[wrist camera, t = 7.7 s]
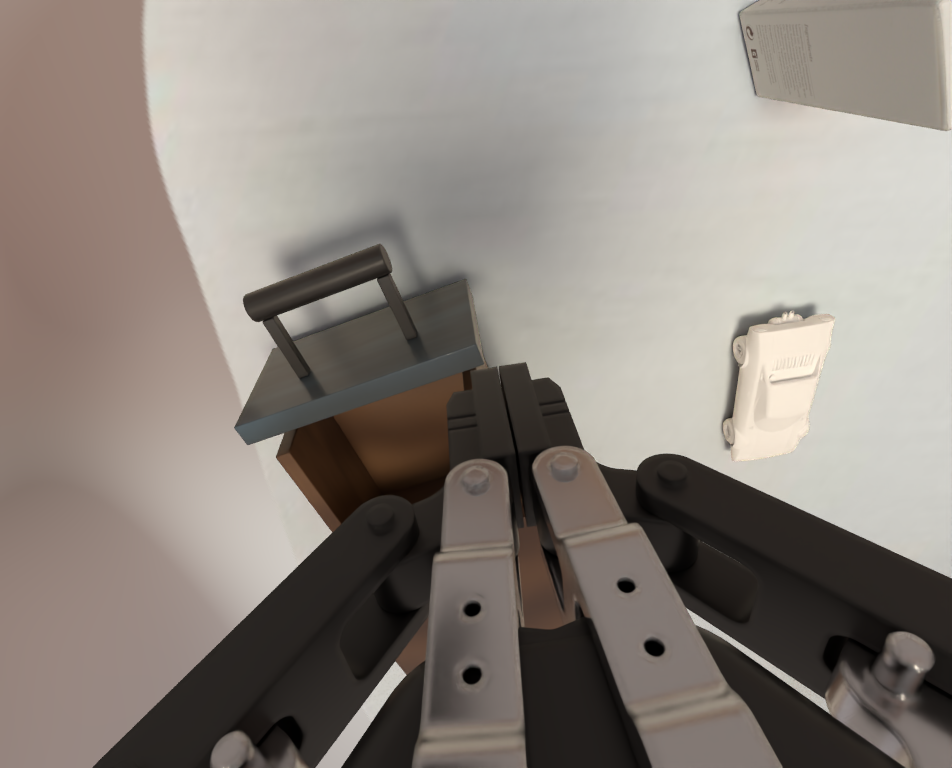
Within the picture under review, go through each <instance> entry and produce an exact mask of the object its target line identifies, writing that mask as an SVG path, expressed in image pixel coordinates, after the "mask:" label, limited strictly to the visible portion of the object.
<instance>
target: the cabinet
mask: <svg viewBox="0 0 952 768" xmlns="http://www.w3.org/2000/svg"><path fill="white" fill-rule="evenodd" d="M522 512H523V521H524V528H519V529H518V535H519V543H520V547H519V552H518V557H519V567H520V579H521V590H522V602H523V614H524V626H525V627H527V628H538V629H555V628H558V627H561V626H563V622H562V619H561V616H560V613H559V610H558V606H557V603H556V600H555V597H554V594H553V591H552V587H551V584H550V581H549V578H548V575H547V572H546V569H545V565H544V562H543V559H542V556H541V550H540V540H539V534H538V530H537V526H531V527H527V524H526V519H525V514H524V509H523V507H522ZM428 618H429V617H428ZM428 618H427V619H426V621H425V622H424V623H423V625H422V626H421V627H420V629H419V630H418V631H417V633H416V634H415V635H414V637H413V638H412V639H411V641H410V642H409V643H408V645H407V646H406V647H405V649H404V650H403V651H402V653H401V654H400V655H399V657H398V658H397V659H396V662H397V664H398V665H399V666H400V667H401V668H402V670H403V671H404V672H405V673H406V675H408V674H409V673H410V672H411V671H412V670H413V669H414V668H416V667H417V666H418V665H420V664H421V663H422V662H424V661H425V658H426V645H427V632H428Z"/></svg>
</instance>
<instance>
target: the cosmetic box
mask: <svg viewBox="0 0 952 768" xmlns="http://www.w3.org/2000/svg"><path fill="white" fill-rule="evenodd" d="M740 20H741V24H742V29H743V34H744V38H745V43H746V47H747V52H748V56H749V61H750V65H751V70H752V75H753V80H754V85H755V90H756V93H757V96H759V97H762V98H768V99H773V100H779V101H785V102H790V103H795V104H801V105H806V106H812V107H817V108H822V109H827V110H833V111H838V112H845V113H850V114H855V115H861V116H866V117H872V118H877V119H882V120H888V121H894V122H898V123H904V124H910V125H915V126H921V127H927V128H932V129H937V130H942V131H948V130H951V129H952V0H759V1H758V2H756V3H754V4H753V5H751V6H749V7H748V8H746V9H744V10H743V11H741V12H740Z"/></svg>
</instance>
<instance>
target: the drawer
mask: <svg viewBox="0 0 952 768" xmlns="http://www.w3.org/2000/svg"><path fill="white" fill-rule="evenodd" d="M391 272H392V265H391V262H390V259H389V256H388V254H387V252H386V250H385V248H384V247H383V246H382V244H377V245H375V246H372V247H370V248H367V249H364V250H362V251H359V252H356V253H354V254H351V255H348V256H346V257H343V258H341V259H338V260H335V261H333V262H330V263H327V264H325V265H322V266H319V267H317V268H314V269H312V270H309V271H306V272H304V273H301V274H298V275H296V276H293V277H290V278H288V279H285V280H283V281H280V282H277V283H275V284H272V285H269V286H267V287H264V288H261V289H259V290H256V291H254V292H251V293H248V294H246V295H245V296H244V298H243V303H244V307H245V310H246V312H247V314H248V315H249V316H250V318H251V319H252V320H254V321H255V322H260V321H263V324H264V326H265V327H266V329H267V330H268V332H269V333H270V335H271V336H272V338H273V339H274V341H275V343H276V344H277V346H278V347H277V348H274V349H272V352H271V354H270V356H269V358H268V360H267V362H266V364H265V366H264V368H263V370H262V372H261V374H260V376H259V378H258V380H257V382H256V384H255V386H254V388H253V390H252V392H251V394H250V397H249V399H248V401H247V403H246V405H245V407H244V409H243V411H242V413H241V415H240V417H239V419H238V421H237V423H236V425H235V427H234V428H235V430H236V431H237V432H238V433H239V434H240V436H241V437H242V439H243V440H244V441H245V443H246V444H247V445H250V444H253V443H256V442H259V441H262V440H265V439H267V438H270V437H273V436H276V435H279V434H282V433H284V436H283V439H282V442H281V444H280V447H279V450H278V453H277V456H276V458H277V460H278V461H279V462H280V464H281V465H282V466H283V468H284V469H285V470H286V472H287V473H288V474H289V476H290V477H291V478H292V479H293V481H294V482H295V483H296V485H297V486H298V487H299V489H300V490H301V491H302V493H303V494H304V495H305V497H306V498H307V499H308V501H309V502H310V503H311V505H312V506H313V507H314V509H315V510H316V511H317V513H318V514H319V515H320V517H321V518H322V519H323V521H324V522H325V523H326V525H327V526H328V527H329V529H330V530H331V531H332V533H333V532H334V531H335V530H336V529H337V528H338V527H339V526H340V525H341V524H342V523H343V522H344V521H345V520H346V519H347V518H348V517H349V516H350V515H351V514H352V513H353V512H354V511H355V510H356V509H357V508H358V507H360V506H361V505H362V504H363V503H365V502H367V501H369V500H370V499H373V498H376V497H379V496H384V495H395V496H400V497H403V498H404V499H406V500H407V501H409V502H410V504H411V505H412V504H414V503H417V502H419V501H422V500H424V499H426V498H428V497H430V496H432V495H434V494H435V493H436V492H438V491H439V490H440V489H441V488H442V487H443V486H444V485H445V479H446V477H447V475H448V473H449V472H450V461H449V443H448V425H447V407H446V405H447V403H448V401H449V399H450V398H451V396H452V394H453V392H459V391H465V390H471V389H473V388H472V380H471V373H470V371H473V370H480V369H486V368H488V366H487V364H486V362H485V359H484V357H483V353H482V347H481V341H480V335H479V330H478V324H477V318H476V313H475V307H474V301H473V296H472V293H471V290H470V288H469V285H468V283H467V280H466V279H464V280H461V281H458V282H456V283H453V284H450V285H447V286H445V287H442V288H439V289H436V290H434V291H431V292H428V293H425V294H423V295H420V296H417V297H414V298H412V299H409V300H406V301H403V299H402V297H401V295H400V293H399V291H398V289H397V287H396V285H395V282H394V280H393V278H392V276H391V274H390V273H391ZM376 278H377V281H378V283H379V285H380V287H381V289H382V291H383V293H384V295H385V297H386V299H387V301H388V304H389V306H390V307H387V308H384V309H381V310H379V311H376V312H373V313H370V314H367V315H365V316H362V317H359V318H356V319H354V320H351V321H348V322H345V323H343V324H340V325H337V326H334V327H332V328H329V329H326V330H323V331H321V332H318V333H315V334H312V335H310V336H307V337H304V338H301V339H299V340H296V341H293V340H292V339H291V337H290V335H289V334H288V332H287V331H286V329H285V327H284V326H283V324H282V323H281V321H280V320H279V318H278V316H277V315H279V314H282V313H284V312H287V311H290V310H293V309H295V308H298V307H301V306H303V305H306V304H309V303H311V302H314V301H317V300H319V299H322V298H325V297H328V296H330V295H333V294H336V293H338V292H341V291H344V290H346V289H349V288H352V287H354V286H357V285H360V284H363V283H365V282H368V281H371V280H373V279H376ZM520 496H521V495H520ZM521 504H522V500H521ZM522 507H523V504H522Z"/></svg>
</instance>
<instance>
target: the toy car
mask: <svg viewBox="0 0 952 768" xmlns="http://www.w3.org/2000/svg"><path fill="white" fill-rule="evenodd" d="M787 314H788V313H787V312H784V313H783V315H782V317H779V318H776V317H774V318H773V319H770V320H769V321H768V324H759V325H755V326H751V327H749V330H748V334H747V336H739V337H737V338H736V339H735V340H734V342H733V353H734V356H735V359H736V360H737V362H738V363H739V364H738V366H739V368H740V370H739V377H738V384H737V390H736V398H735V405H734V412H733V418H729V419H726V420H725V421H724V423H723V432H724V435H725V438H726V440H727V441H728V442H729V443H731V444H730V445H731V458H732V461H734V462H735V461H746V460H755V459H763V458H768V457H773V456H777V455H782V454H786V453H790V452H793V451H794V449H795V448H796V446H797V444H798V443H799V440H800V439H801V438H803V437H804V436H805V435H806V434H807V433H808V431H809V426H810V424H809V418H808V415H809V412H810V408H811V406H812V403H813V399H814V395H815V392H816V388H817V385H818V381H819V378H820V374H821V371H822V367H823V364H824V361H825V358H826V355H827V352H828V351H829V349H830V346H831V335H832V331H833V327H834V323H835V318H834V317H833V316H832V315H830V314H819V315H813V316H809V317H808V318H805V319H803V318H802V317H801V316H800V315H798V314H797V315H795V314H794V311H790V313H789V316H787Z"/></svg>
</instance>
